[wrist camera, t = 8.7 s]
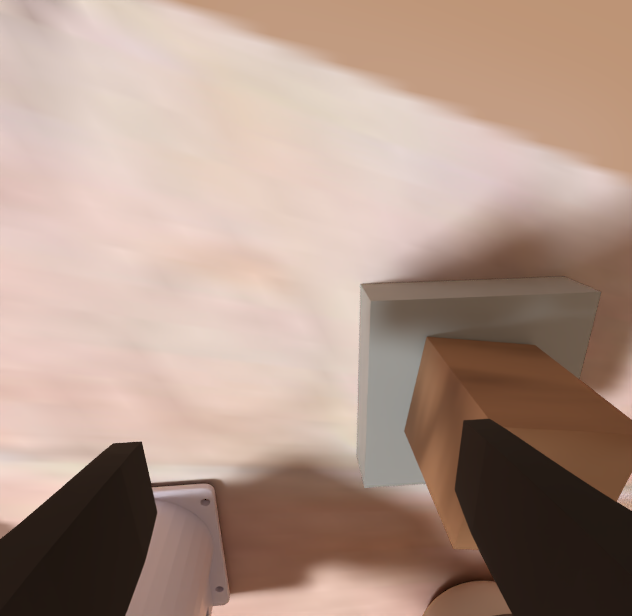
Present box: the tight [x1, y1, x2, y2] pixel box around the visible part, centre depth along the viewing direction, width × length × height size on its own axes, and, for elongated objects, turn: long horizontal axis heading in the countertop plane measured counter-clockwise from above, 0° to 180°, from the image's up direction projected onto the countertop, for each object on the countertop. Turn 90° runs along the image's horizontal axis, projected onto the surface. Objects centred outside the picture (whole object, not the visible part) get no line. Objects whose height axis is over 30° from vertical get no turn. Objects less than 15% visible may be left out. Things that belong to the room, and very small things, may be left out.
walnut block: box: [404, 337, 632, 550], centre depth 15 cm, size 5×5×6 cm
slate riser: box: [356, 276, 601, 488], centre depth 20 cm, size 10×10×3 cm
